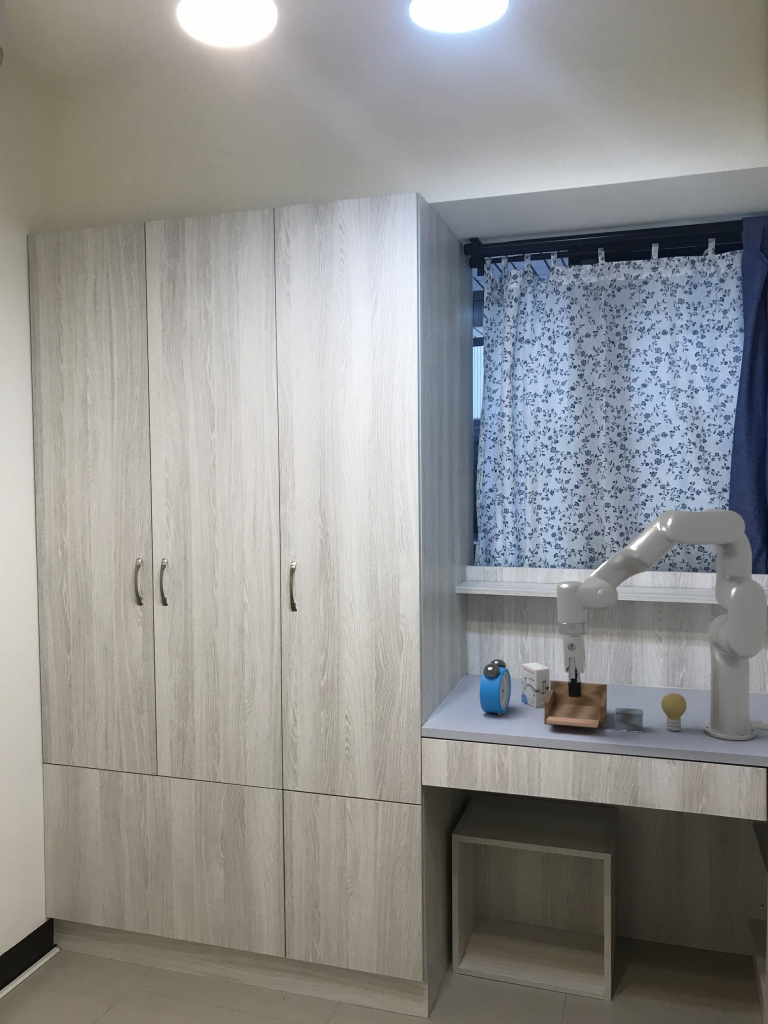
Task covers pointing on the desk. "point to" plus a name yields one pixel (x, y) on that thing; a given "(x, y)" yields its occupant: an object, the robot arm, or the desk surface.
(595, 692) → the brown open box
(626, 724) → the blue gray block
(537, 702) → the ink box
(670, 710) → the light bulb
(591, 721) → the panel
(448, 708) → the desk surface
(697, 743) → the desk surface
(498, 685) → the alarm clock
